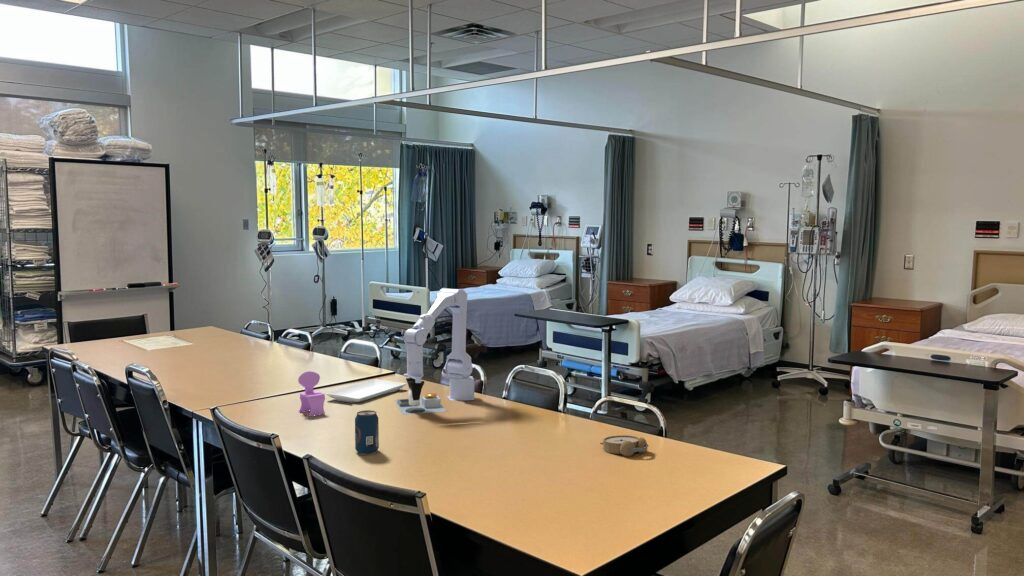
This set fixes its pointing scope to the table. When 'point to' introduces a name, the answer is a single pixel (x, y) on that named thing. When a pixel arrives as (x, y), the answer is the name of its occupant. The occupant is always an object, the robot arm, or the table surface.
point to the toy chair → (311, 394)
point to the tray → (365, 390)
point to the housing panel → (421, 405)
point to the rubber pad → (415, 410)
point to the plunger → (430, 396)
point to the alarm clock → (624, 445)
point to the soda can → (366, 432)
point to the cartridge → (411, 401)
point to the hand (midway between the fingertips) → (415, 398)
